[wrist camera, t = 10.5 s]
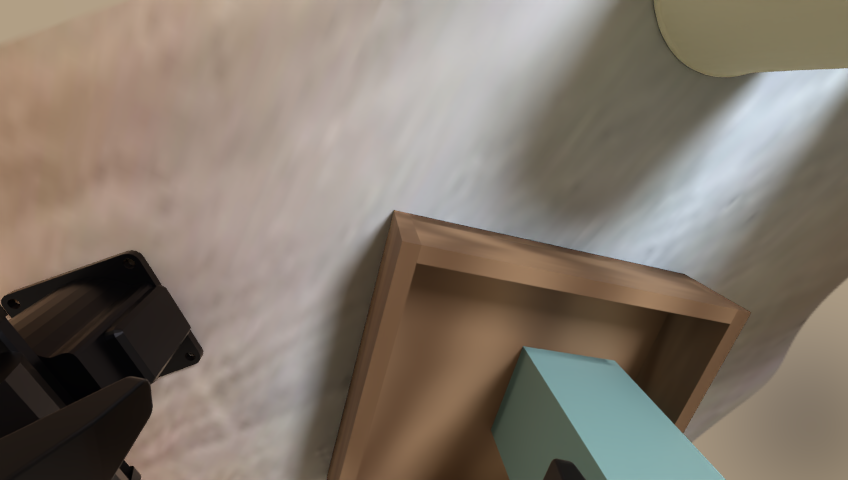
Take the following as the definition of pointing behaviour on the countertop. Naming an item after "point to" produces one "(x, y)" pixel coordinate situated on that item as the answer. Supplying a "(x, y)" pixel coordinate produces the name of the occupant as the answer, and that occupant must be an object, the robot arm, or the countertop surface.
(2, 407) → the robot arm
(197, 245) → the countertop surface
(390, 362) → the wooden tray
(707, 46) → the can
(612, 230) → the countertop surface
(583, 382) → the teal square cup
